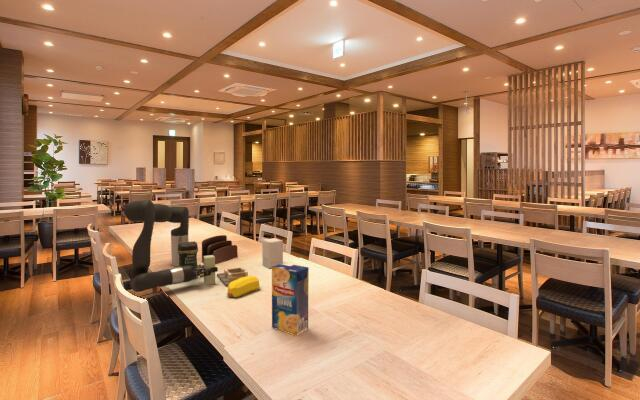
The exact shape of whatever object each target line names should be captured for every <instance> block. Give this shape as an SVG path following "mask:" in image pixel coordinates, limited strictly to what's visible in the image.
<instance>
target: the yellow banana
mask: <svg viewBox="0 0 640 400" xmlns="http://www.w3.org/2000/svg"><path fill="white" fill-rule="evenodd" d="M260 285H261V284H260V280H259V278H258V277H257V276H253V275H248V276H246V277H242V278H239V279H237V280H235V281H232V282H231V283H230V284H229V285H228V286H227V293H226V295H227V296H228V298H229V297H230V298H233V297H234V298H235V299H237V298H240V297H242V296H245V295H246V294H248V293H252V292H255V291H258V290H259V289H261V286H260Z"/></svg>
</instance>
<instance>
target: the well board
mask: <svg viewBox="0 0 640 400" xmlns="http://www.w3.org/2000/svg"><path fill="white" fill-rule="evenodd" d="M223 271H224V272H221V273H217V274H216V277H217V278H218V280H219V281H220V282H221V283H222V284H223V286H224V287H227V288H228V285H229V284H230V283H231V282H232V281H235V280H237V279H239V278H242V277H246V276H249V272H248V271H247V270H246V269H245V268H244V267H242V266H241V267H234V268H227V269H224V270H223Z"/></svg>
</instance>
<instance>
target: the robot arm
mask: <svg viewBox="0 0 640 400" xmlns="http://www.w3.org/2000/svg"><path fill="white" fill-rule="evenodd" d="M124 216H125V217H126V219H127V220H128V221H130V222H132V223H139V222H143V227H142V230H141V232H140V234H139V235H138V238H137V239H136V241H135V243H134V245H133V247H132V252H131V253H132V255H131V256H132V257H131V261H132V262H131V263H132V267H131V272H130V277H129V278H130V279H129V285H130V289H132V291H134V292H137V293H141V292H144V291H147V290H151V289H155V288H158V287H159V288H160V287H166V286H171V285H179V284H182V283H183V284H184V283H187V282H190V281H192V280H193V279H192V278H193V277H194V276H195V277H198V278H200V279H201V278H204V277H205V276H208V275H211V273H213V272H215V273H216V272H218V271H219V268H218V266H215V267H213V268H204V264H197V265H193V266H190V265H184V266H179V254H178V244H179V243H183V242H190V241H189V227H190V226H189V225H190V224H189V223H190V218H189V217H190V211H189V208H188V207H187V206H169V205H166V204H163V203H154V202H153V201H152V200H150V199H143V200H136V201H131V202H129V203H127V204H126V205H125V208H124ZM166 222H168V223H172V224H180V225H179V226H178V227H175V228H173V229H171V230H170V244H171V245H170V247H171V248H170V249H171V250H170V251H171V253H170V254H171V266H172V267H170V268H168V269H167V268H166V269H162V270H157V271H151V272H149V268H150V266H151V248H152V247H151V246H152V245H151V244H152V237H153V233H154V232H153V231H154V225H155V223H166Z"/></svg>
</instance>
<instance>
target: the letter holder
mask: <svg viewBox="0 0 640 400" xmlns="http://www.w3.org/2000/svg"><path fill="white" fill-rule="evenodd" d="M227 237H228V236H227V234H221V235H215V236H211V237H208V238H206V239H203V240H202V241H201V263H203V264H204V262H203V256H208V255H213V256H214V257H215V265H217V264H220V263H224V262H227V261H231V260H233V258H234V259H236V258H238V256H239V254H238V245H237V244H233V241H232V240H228V238H227Z"/></svg>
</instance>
